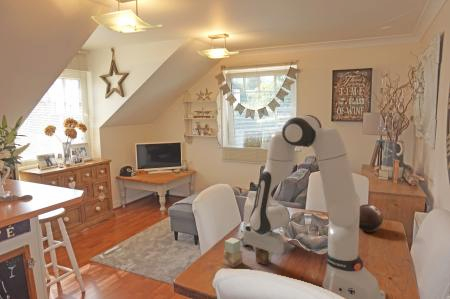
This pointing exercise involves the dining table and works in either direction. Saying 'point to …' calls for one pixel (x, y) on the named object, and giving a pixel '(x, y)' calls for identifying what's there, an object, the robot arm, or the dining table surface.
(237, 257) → the oak base block
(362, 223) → the wooden sphere
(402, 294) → the dining table surface
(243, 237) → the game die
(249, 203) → the milk
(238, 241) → the sage block
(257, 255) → the walnut block
